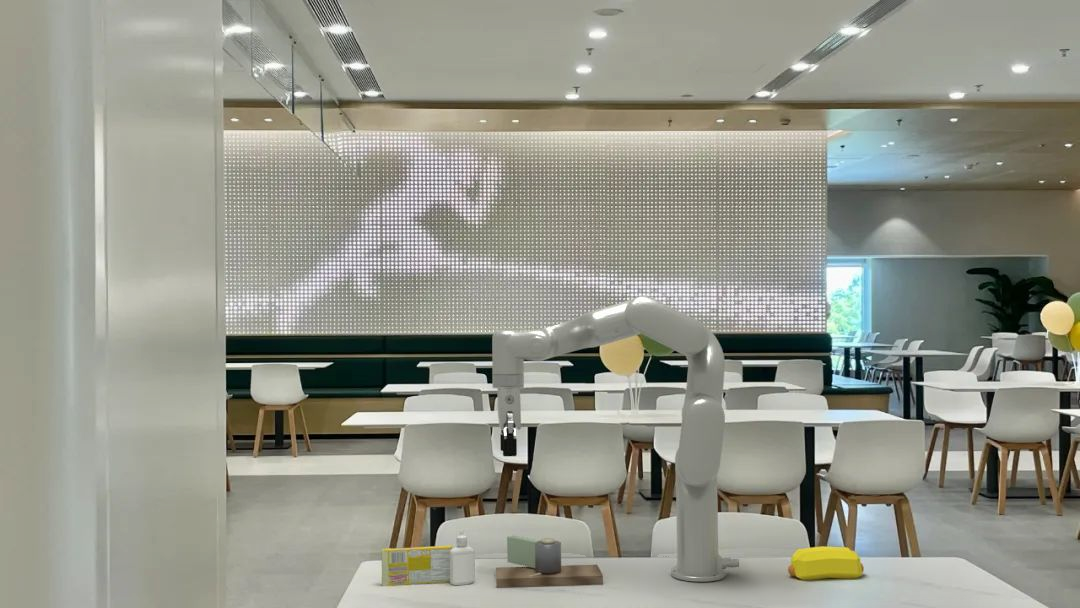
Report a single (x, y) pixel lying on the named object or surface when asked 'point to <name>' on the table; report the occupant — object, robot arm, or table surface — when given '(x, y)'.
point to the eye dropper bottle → (462, 562)
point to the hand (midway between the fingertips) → (508, 453)
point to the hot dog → (825, 563)
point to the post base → (548, 576)
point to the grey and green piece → (535, 553)
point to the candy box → (416, 565)
